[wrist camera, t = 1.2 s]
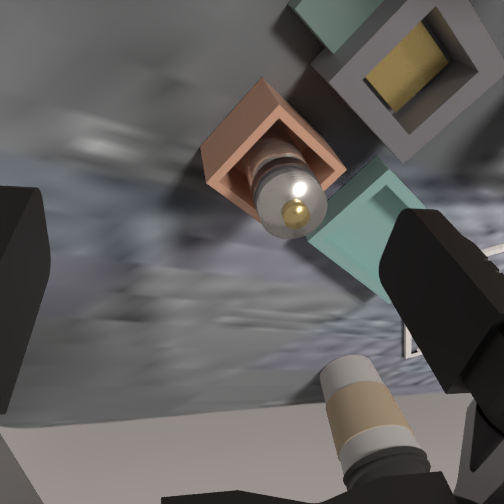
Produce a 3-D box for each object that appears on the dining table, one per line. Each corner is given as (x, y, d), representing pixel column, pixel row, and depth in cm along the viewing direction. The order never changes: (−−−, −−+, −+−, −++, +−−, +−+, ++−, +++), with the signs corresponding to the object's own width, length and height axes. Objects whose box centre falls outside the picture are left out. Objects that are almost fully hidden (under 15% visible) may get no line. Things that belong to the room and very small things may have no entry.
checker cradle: (375, -99, 27) (408, -102, 23) (472, 53, 33) (509, 69, 30) (271, 22, 30) (287, 36, 26) (379, 139, 37) (403, 163, 33)
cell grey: (263, 105, 33) (299, 171, 24) (301, 141, 35) (346, 212, 26) (225, 147, 34) (246, 223, 26) (263, 179, 36) (295, 258, 28)
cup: (262, 77, 32) (279, 104, 27) (322, 136, 36) (346, 169, 31) (200, 146, 34) (206, 182, 30) (262, 195, 38) (276, 234, 33)
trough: (376, 155, 37) (389, 169, 35) (449, 232, 44) (463, 247, 42) (300, 225, 40) (307, 241, 38) (379, 287, 47) (389, 304, 45)
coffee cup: (373, 389, 59) (426, 507, 47) (308, 398, 58) (345, 521, 46) (386, 344, 53) (449, 464, 42) (314, 353, 52) (359, 480, 40)
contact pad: (410, 10, 29) (414, 11, 29) (444, 60, 32) (449, 62, 31) (355, 66, 31) (358, 68, 31) (392, 110, 34) (395, 112, 33)
